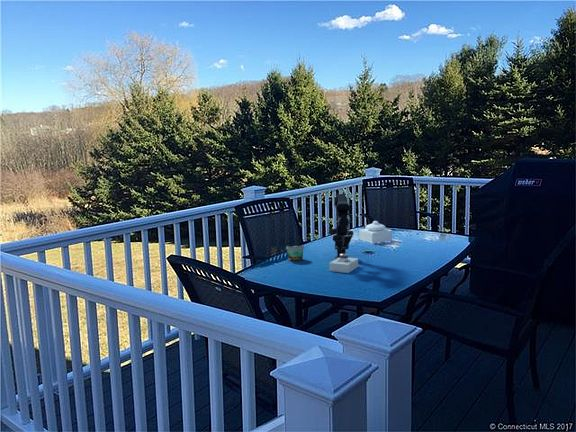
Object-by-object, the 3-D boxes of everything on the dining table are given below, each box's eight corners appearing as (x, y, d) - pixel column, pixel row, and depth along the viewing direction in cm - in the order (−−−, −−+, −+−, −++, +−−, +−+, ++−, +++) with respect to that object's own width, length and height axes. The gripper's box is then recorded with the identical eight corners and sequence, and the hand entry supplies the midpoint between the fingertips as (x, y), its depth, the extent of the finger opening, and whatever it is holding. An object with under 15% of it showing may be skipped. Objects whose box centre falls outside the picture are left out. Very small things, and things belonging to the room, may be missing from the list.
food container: (288, 262, 303) (288, 247, 301) (286, 260, 309) (285, 245, 307) (307, 261, 306) (306, 246, 305) (304, 258, 312) (303, 244, 311)
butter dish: (359, 240, 364) (358, 220, 361) (378, 237, 371) (378, 217, 368) (372, 244, 348) (372, 223, 345) (392, 241, 355) (392, 221, 353)
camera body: (340, 264, 294) (340, 255, 294) (358, 266, 289) (358, 257, 288) (329, 271, 281) (329, 261, 280) (348, 273, 275) (348, 263, 274)
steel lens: (341, 264, 288) (341, 252, 287) (349, 264, 285) (349, 253, 284) (338, 265, 284) (338, 254, 283) (346, 266, 281) (346, 255, 280)
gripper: (336, 220, 293) (337, 245, 295) (324, 225, 277) (324, 251, 279) (353, 221, 288) (354, 246, 290) (341, 227, 272) (342, 253, 274)
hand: (343, 249), depth 284 cm, fingers open, 9 cm apart
